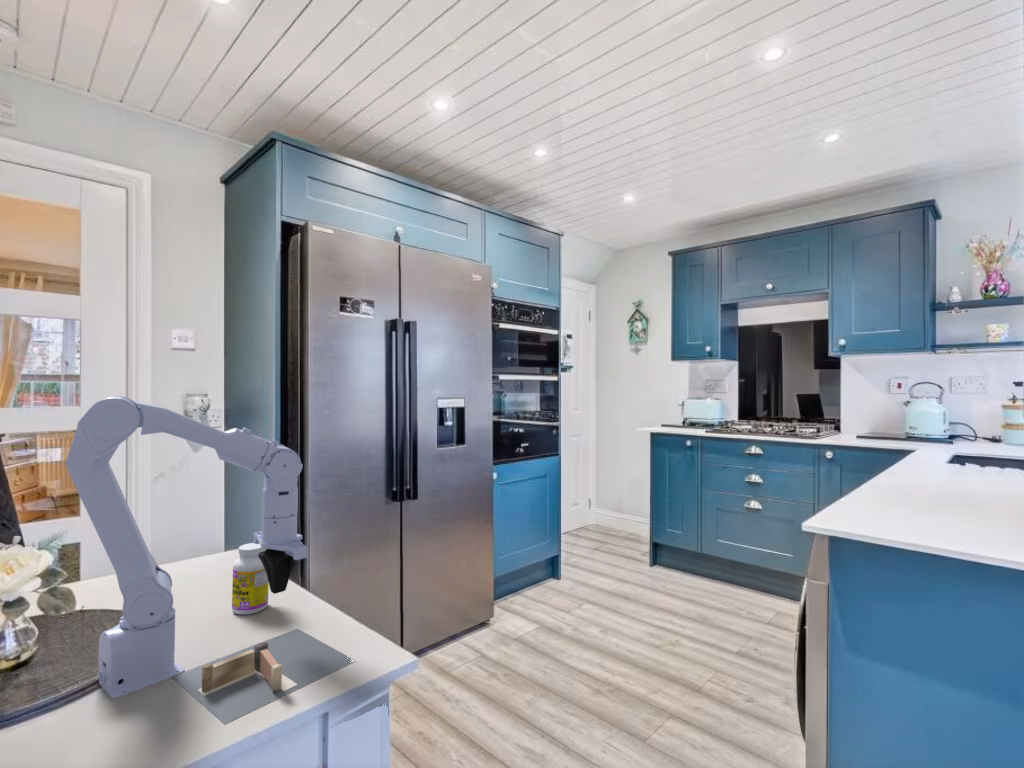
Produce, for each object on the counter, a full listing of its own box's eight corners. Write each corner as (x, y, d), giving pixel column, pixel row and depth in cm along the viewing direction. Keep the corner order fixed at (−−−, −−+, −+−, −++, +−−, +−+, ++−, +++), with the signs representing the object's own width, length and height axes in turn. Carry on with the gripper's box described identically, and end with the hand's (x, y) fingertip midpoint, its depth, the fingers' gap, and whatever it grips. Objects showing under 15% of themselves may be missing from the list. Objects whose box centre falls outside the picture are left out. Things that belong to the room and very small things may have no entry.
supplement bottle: (224, 611, 106) (225, 547, 106) (254, 599, 111) (255, 539, 111) (245, 618, 102) (247, 553, 102) (275, 606, 108) (276, 544, 108)
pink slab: (258, 670, 83) (258, 650, 83) (267, 667, 84) (268, 647, 84) (272, 691, 77) (273, 670, 77) (282, 688, 78) (283, 666, 78)
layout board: (224, 727, 70) (224, 723, 70) (171, 679, 81) (171, 676, 81) (356, 663, 87) (356, 660, 87) (297, 630, 98) (297, 628, 98)
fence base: (205, 695, 77) (205, 670, 77) (199, 690, 78) (199, 665, 78) (270, 667, 85) (270, 645, 85) (263, 663, 86) (264, 641, 86)
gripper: (323, 517, 92) (322, 594, 92) (280, 504, 100) (278, 575, 100) (285, 525, 86) (283, 607, 86) (242, 510, 95) (241, 585, 95)
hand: (278, 591), depth 93 cm, fingers closed
